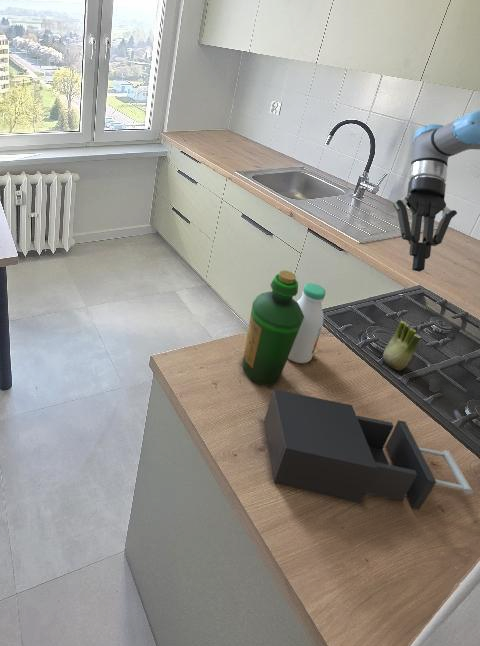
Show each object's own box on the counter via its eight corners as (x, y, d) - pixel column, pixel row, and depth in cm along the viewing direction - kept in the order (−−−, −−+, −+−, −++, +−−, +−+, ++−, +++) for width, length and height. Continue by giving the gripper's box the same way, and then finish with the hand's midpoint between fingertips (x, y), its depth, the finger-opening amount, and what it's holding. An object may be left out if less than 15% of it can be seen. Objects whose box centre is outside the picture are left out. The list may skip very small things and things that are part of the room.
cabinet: (338, 437, 85) (352, 404, 81) (360, 503, 74) (377, 468, 70) (263, 421, 88) (273, 389, 84) (273, 482, 76) (285, 448, 72)
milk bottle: (303, 369, 101) (325, 303, 93) (273, 351, 106) (291, 286, 98) (316, 353, 106) (338, 289, 98) (287, 337, 111) (305, 274, 103)
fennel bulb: (406, 376, 100) (425, 338, 96) (383, 369, 102) (400, 331, 97) (401, 359, 105) (418, 322, 100) (378, 353, 107) (394, 316, 102)
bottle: (254, 348, 107) (278, 255, 95) (293, 376, 99) (325, 279, 87) (228, 367, 101) (251, 270, 89) (267, 398, 93) (297, 297, 82)
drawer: (435, 457, 81) (450, 430, 78) (469, 522, 71) (489, 493, 68) (318, 432, 85) (329, 406, 82) (335, 490, 75) (348, 462, 71)
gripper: (450, 192, 108) (442, 280, 101) (391, 182, 113) (381, 265, 106) (465, 181, 101) (459, 274, 95) (403, 171, 106) (392, 259, 99)
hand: (418, 269), depth 100 cm, fingers closed
